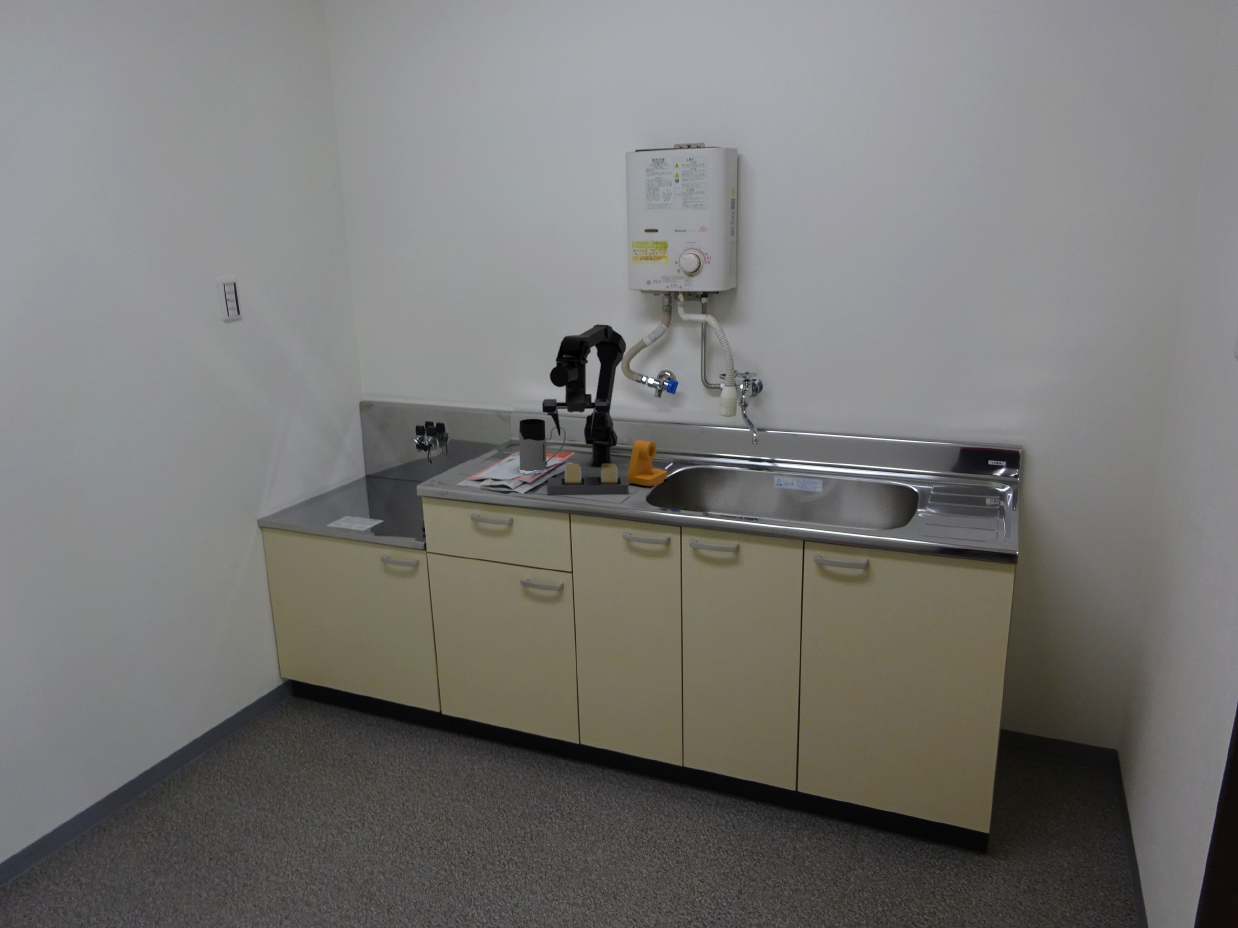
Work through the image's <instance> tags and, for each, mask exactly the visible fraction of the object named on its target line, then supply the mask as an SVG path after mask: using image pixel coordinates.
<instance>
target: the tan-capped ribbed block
mask: <svg viewBox="0 0 1238 928" xmlns="http://www.w3.org/2000/svg"><path fill="white" fill-rule="evenodd" d="M618 474H619V471H618V465H616V463H612V464H602V466H600V477H601V485H603V484H618V477H619V475H618Z"/></svg>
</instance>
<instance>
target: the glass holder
mask: <svg viewBox="0 0 1238 928" xmlns="http://www.w3.org/2000/svg"><path fill="white" fill-rule="evenodd" d="M555 429H557V428H556V425H555V426H554V427H552V429H551V431H550V435H549V436H550V437H549V438H547V437H546V421H545V420H544V419H542V418H541V419H539V418H525V419H521V420H520V421H519V429H518V432H519V433H518V436H519V439H518V440H519V443H518V444H519V468H520V470H525V471H534V470H544V469H546V468H547V469H548V467H547V466H548V462H549V461H550V460H552V459H553V458H555V456H557V455H558V453H560V452H561V451H562V449H563V448H564V444H565V442H566V430H565V428H564V427H562V426H560V430H562V431H563V435H564V436H563V442H562V443H561V446H560V449H559V450H558V451H557V452H555V453H554V454H553V455H551V456H550V457H549V458H548V459H547V441H551V439H552V437H553V436H552V435H553V431H554V430H555Z"/></svg>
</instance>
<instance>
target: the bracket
mask: <svg viewBox="0 0 1238 928" xmlns="http://www.w3.org/2000/svg"><path fill="white" fill-rule="evenodd" d="M656 454H657V444H656V443H655V442H653V441H647V440H641V439H637V440H636V441H635V442H634V444H633V446H632V452H631V457H630V461H629V465H628V471H627V476H626V479H627V483H628V484H629V483H630V484H635V485H640V486H646V487H656V486H659V485H660V484H662V483H664V481H665V479H666V480H667V478H668V470H664V469H659V468H654V466H653V460H654V459H655V457H656Z"/></svg>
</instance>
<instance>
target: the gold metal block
mask: <svg viewBox="0 0 1238 928" xmlns="http://www.w3.org/2000/svg"><path fill="white" fill-rule="evenodd" d="M581 477H582V467H581V466H580V463H566V465H565V466H564V478H565V485H581Z"/></svg>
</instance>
